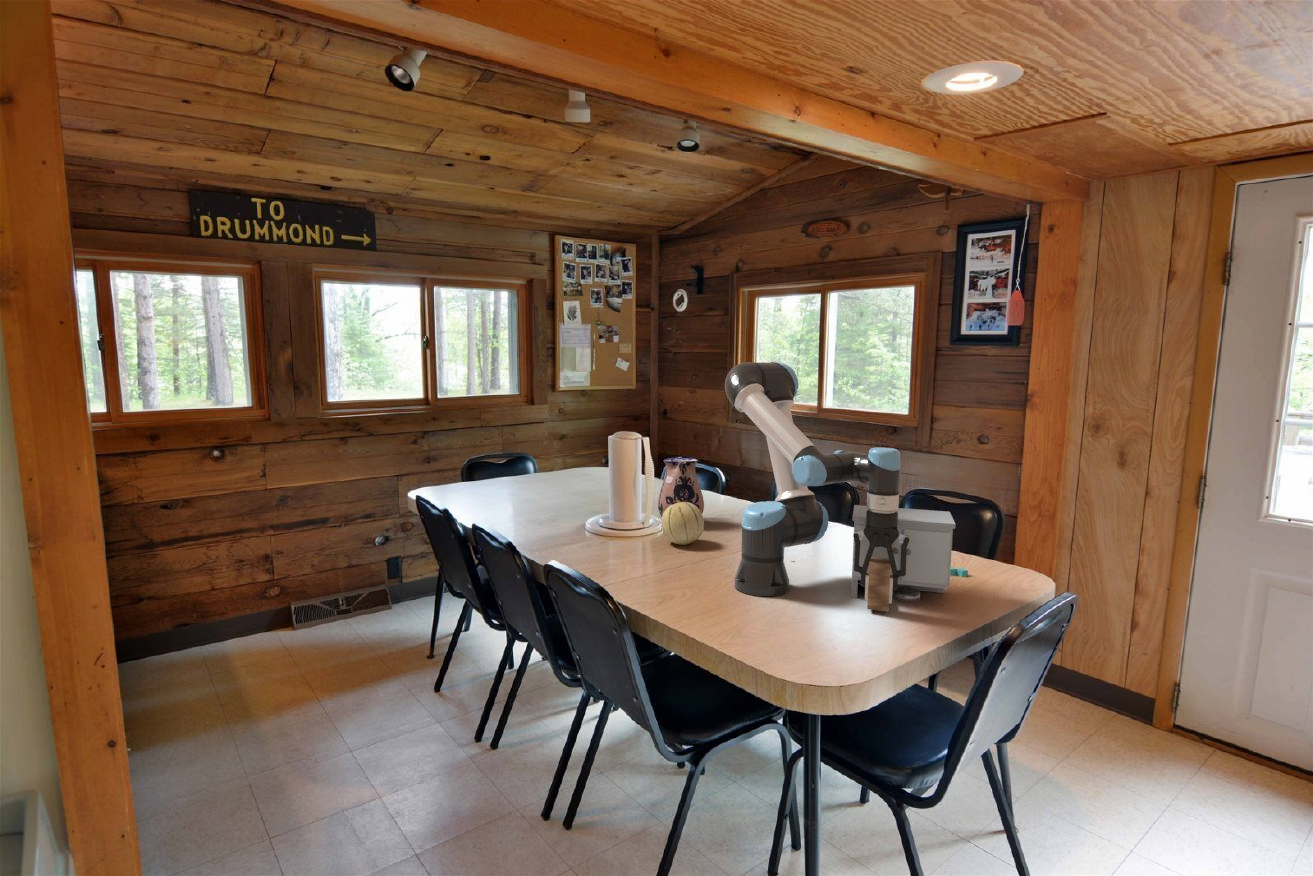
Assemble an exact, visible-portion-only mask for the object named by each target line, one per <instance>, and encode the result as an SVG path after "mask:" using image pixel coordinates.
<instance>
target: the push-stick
mask: <svg viewBox="0 0 1313 876" xmlns="http://www.w3.org/2000/svg"><path fill="white" fill-rule="evenodd" d="M890 566H891V563H890V561H889V559H884V558H873V557H871V560H870V561H869V583H868V601H867V610H871V611H872V610H873V611H881V612H889V605H890V603H889V588H890Z"/></svg>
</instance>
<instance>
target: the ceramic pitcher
mask: <svg viewBox="0 0 1313 876" xmlns="http://www.w3.org/2000/svg"><path fill="white" fill-rule="evenodd" d="M698 461H699V459H696V458H688V457H682V456H678V457H671V458H670V457H669V458H666V459H664V460H663V462H664V464H665V469H666V470H665V475H664V477H663V480H662V483H661V487H660V491H659V494H658V501H657V506H658V507H657V508H658V509H657V510H658V512H659V515H660V517H661V518H662V515H663V513H664V511H665V510H666V509H667V508H668V507H669V506H671V505H672V504H675V503H676V502H674V500H677V501H679V502H688V503H692V504H693V505H695V506H696V507H697V508H698V509H699V510H700V512H701V514H702V515H703V513H704V509H705V501H704V495H703V493H702V489H701V486H700V482H699V478H698V476H697V472H696V466H697V464H698Z"/></svg>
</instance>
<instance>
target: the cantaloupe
mask: <svg viewBox="0 0 1313 876" xmlns="http://www.w3.org/2000/svg"><path fill="white" fill-rule="evenodd" d="M674 502H676V503H675V504H672V505H671V506H669V507H668V508H667V509H666V510H665V511H664V513H663V515H662V517H661V522H660V523H661V529H662V532H663V535H664V536H665V538H667V540H668V541H669V542H671V543H674V544H677V545H682V546H687V545H689V544H691V543H693V542H695V541H697V540H698V539H699V538H700V537H701V536H702V535H703V533H704V530H705V520H704V516H703V513H702V514H701V512H700V510H699V509H698V508H697V507H696V506H695V505H693V504H692V503H688V502H679V501H677V500H674Z"/></svg>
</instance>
